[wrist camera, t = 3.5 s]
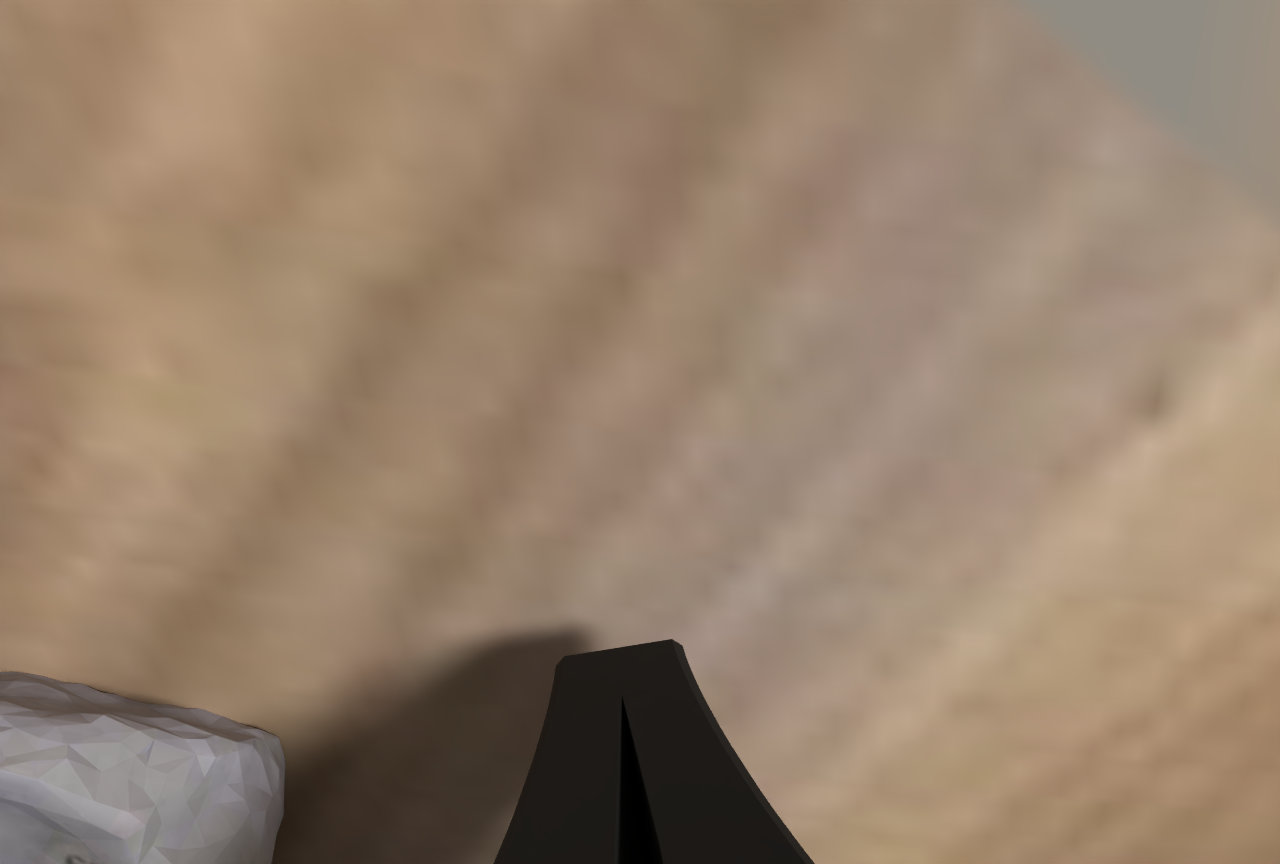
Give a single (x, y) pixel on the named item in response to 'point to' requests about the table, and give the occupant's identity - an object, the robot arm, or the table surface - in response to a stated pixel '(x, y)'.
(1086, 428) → the table surface
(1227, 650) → the table surface
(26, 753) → the stone block
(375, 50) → the table surface
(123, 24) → the table surface
